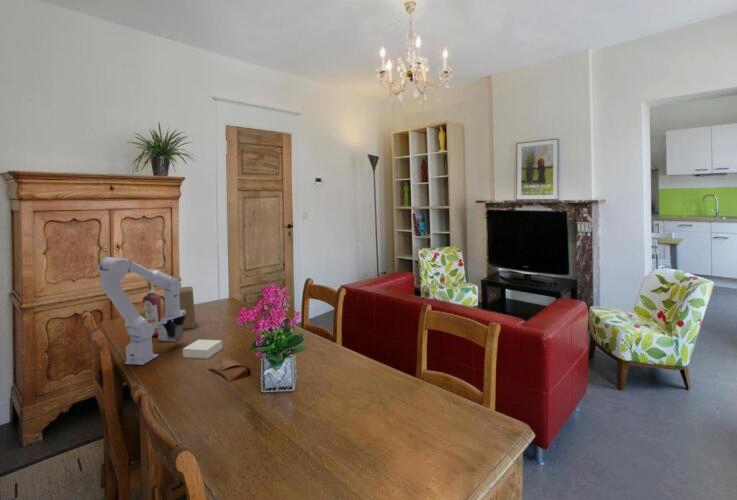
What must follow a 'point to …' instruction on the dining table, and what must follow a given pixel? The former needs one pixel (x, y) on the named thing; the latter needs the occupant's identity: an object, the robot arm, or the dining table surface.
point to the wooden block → (187, 306)
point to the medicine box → (162, 333)
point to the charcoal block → (176, 332)
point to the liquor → (152, 307)
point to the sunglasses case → (230, 369)
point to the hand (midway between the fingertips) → (175, 334)
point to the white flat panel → (202, 349)
